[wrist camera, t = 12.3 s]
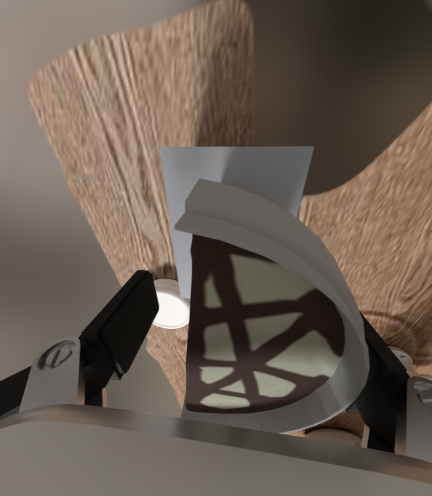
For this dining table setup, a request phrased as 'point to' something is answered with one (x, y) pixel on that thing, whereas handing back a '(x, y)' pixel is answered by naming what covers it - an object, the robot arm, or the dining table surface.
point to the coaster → (171, 305)
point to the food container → (266, 317)
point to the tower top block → (232, 173)
